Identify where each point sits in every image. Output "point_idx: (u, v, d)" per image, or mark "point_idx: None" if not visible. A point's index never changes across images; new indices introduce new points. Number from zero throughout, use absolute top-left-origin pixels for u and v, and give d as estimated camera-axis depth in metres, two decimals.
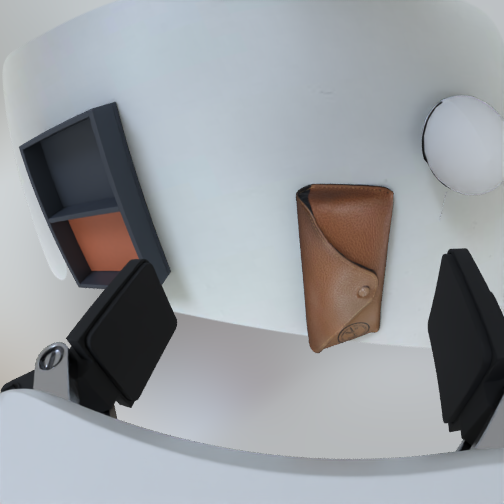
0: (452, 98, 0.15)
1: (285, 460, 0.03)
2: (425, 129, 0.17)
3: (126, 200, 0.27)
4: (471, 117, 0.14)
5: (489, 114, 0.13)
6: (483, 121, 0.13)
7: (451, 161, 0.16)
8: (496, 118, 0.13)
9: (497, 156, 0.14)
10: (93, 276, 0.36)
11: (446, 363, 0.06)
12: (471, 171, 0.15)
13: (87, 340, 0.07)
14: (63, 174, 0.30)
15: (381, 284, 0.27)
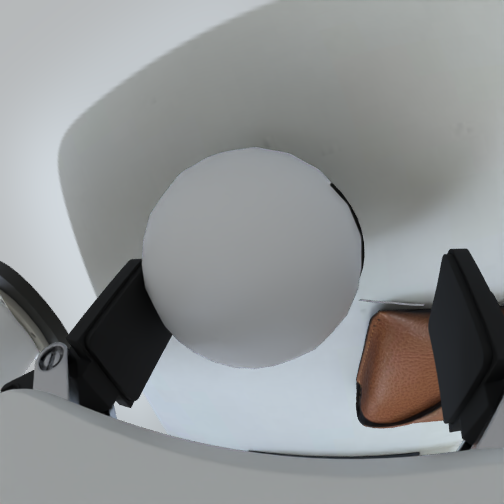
0: None
1: (285, 460, 0.03)
2: None
3: None
4: None
5: (146, 283, 0.09)
6: (160, 317, 0.09)
7: (264, 366, 0.09)
8: (144, 271, 0.09)
9: (206, 318, 0.07)
10: None
11: (446, 363, 0.06)
12: (266, 359, 0.08)
13: (87, 340, 0.07)
14: None
15: None
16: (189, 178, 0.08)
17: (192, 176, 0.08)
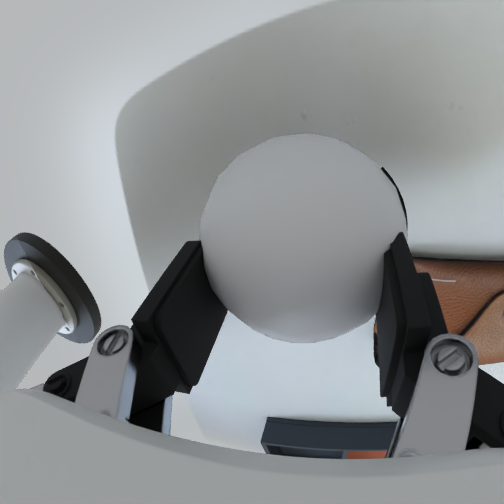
0: None
1: (285, 460, 0.03)
2: None
3: (342, 443, 0.28)
4: (226, 306, 0.10)
5: (207, 262, 0.09)
6: (222, 295, 0.09)
7: None
8: (208, 248, 0.09)
9: (282, 290, 0.08)
10: None
11: (382, 339, 0.08)
12: (331, 330, 0.09)
13: (156, 320, 0.07)
14: (314, 452, 0.37)
15: None
16: (257, 157, 0.08)
17: (260, 156, 0.08)
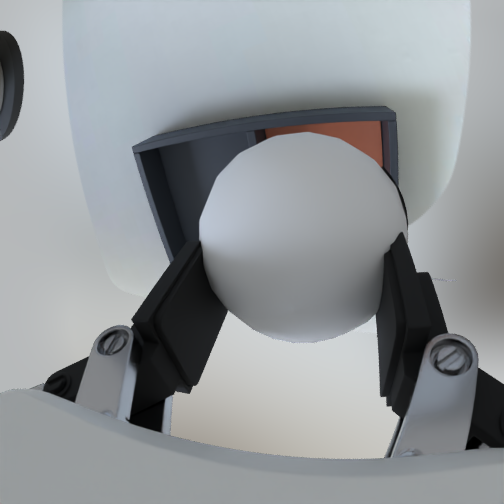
0: None
1: (285, 460, 0.03)
2: None
3: (244, 122, 0.20)
4: (226, 305, 0.10)
5: (207, 261, 0.09)
6: (222, 295, 0.09)
7: None
8: (207, 248, 0.09)
9: (282, 289, 0.08)
10: None
11: (382, 339, 0.08)
12: (331, 330, 0.09)
13: (156, 320, 0.07)
14: None
15: None
16: (256, 156, 0.08)
17: (259, 154, 0.08)
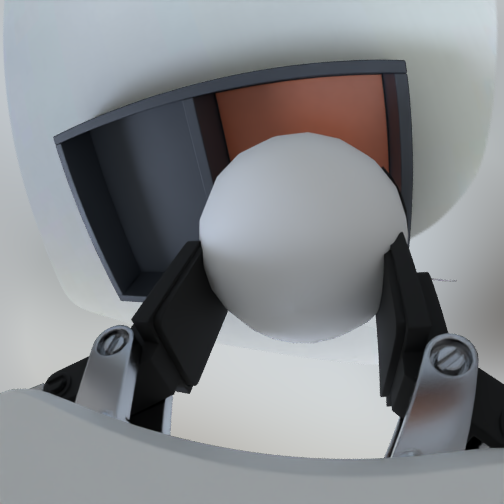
0: None
1: (285, 460, 0.03)
2: None
3: None
4: (226, 306, 0.10)
5: (207, 262, 0.09)
6: (222, 295, 0.09)
7: None
8: (207, 248, 0.09)
9: (282, 290, 0.08)
10: None
11: (381, 339, 0.08)
12: (331, 330, 0.09)
13: (156, 320, 0.07)
14: (184, 244, 0.21)
15: None
16: (257, 157, 0.08)
17: (260, 155, 0.08)
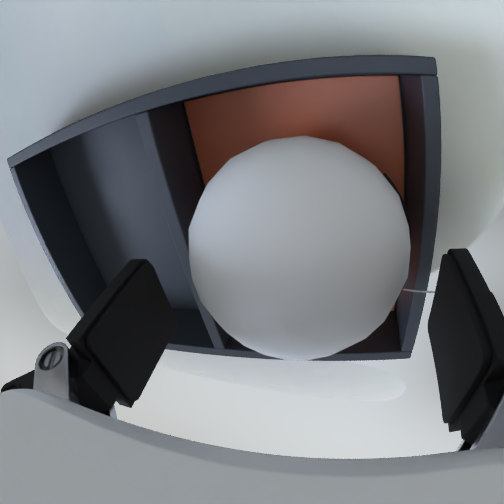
0: None
1: (285, 460, 0.03)
2: None
3: None
4: (216, 319, 0.09)
5: (195, 274, 0.09)
6: (210, 309, 0.09)
7: None
8: (195, 260, 0.08)
9: (271, 307, 0.07)
10: (401, 307, 0.14)
11: (446, 363, 0.06)
12: (325, 348, 0.08)
13: (87, 340, 0.07)
14: (159, 279, 0.18)
15: None
16: (247, 162, 0.08)
17: (250, 160, 0.08)
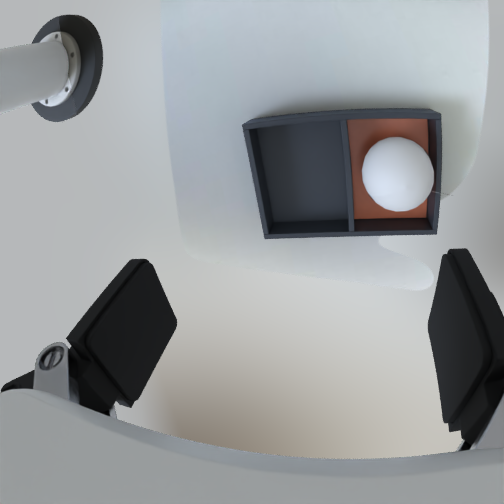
0: None
1: (285, 460, 0.03)
2: None
3: (337, 113, 0.27)
4: (377, 193, 0.26)
5: (373, 175, 0.25)
6: (379, 186, 0.25)
7: (408, 208, 0.25)
8: (375, 170, 0.25)
9: (402, 180, 0.23)
10: (429, 211, 0.30)
11: (446, 363, 0.06)
12: (414, 198, 0.24)
13: (87, 340, 0.07)
14: (312, 202, 0.35)
15: None
16: (390, 143, 0.24)
17: (391, 142, 0.24)
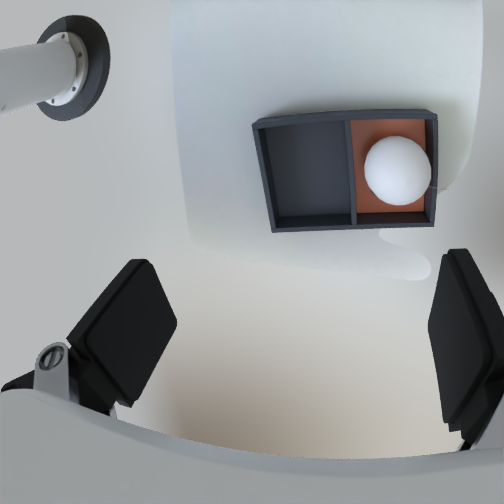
0: (368, 184, 0.30)
1: (285, 460, 0.03)
2: None
3: (341, 114, 0.28)
4: (379, 188, 0.28)
5: (375, 172, 0.27)
6: (381, 182, 0.27)
7: (407, 202, 0.27)
8: (377, 167, 0.27)
9: (403, 176, 0.25)
10: (427, 205, 0.32)
11: (446, 363, 0.06)
12: (413, 192, 0.26)
13: (87, 340, 0.07)
14: (316, 197, 0.36)
15: None
16: (390, 141, 0.26)
17: (391, 141, 0.26)
